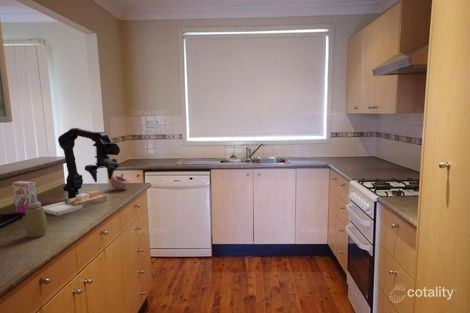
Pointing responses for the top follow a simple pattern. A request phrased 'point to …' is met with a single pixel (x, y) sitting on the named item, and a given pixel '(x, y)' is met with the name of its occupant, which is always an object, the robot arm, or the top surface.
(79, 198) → the tile cream
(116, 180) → the mortar and pestle
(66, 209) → the tray
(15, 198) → the candy bar box
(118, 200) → the top surface
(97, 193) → the tile terracotta
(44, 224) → the squeeze bottle
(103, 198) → the thick wooden platform
